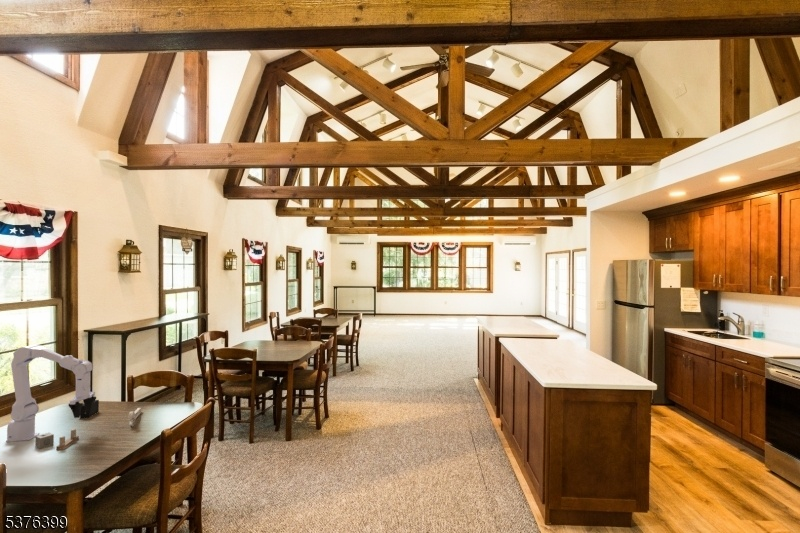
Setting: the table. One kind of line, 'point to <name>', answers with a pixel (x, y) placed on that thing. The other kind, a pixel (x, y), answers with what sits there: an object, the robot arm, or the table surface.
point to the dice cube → (44, 440)
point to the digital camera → (94, 410)
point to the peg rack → (69, 441)
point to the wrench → (133, 416)
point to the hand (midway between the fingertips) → (82, 414)
